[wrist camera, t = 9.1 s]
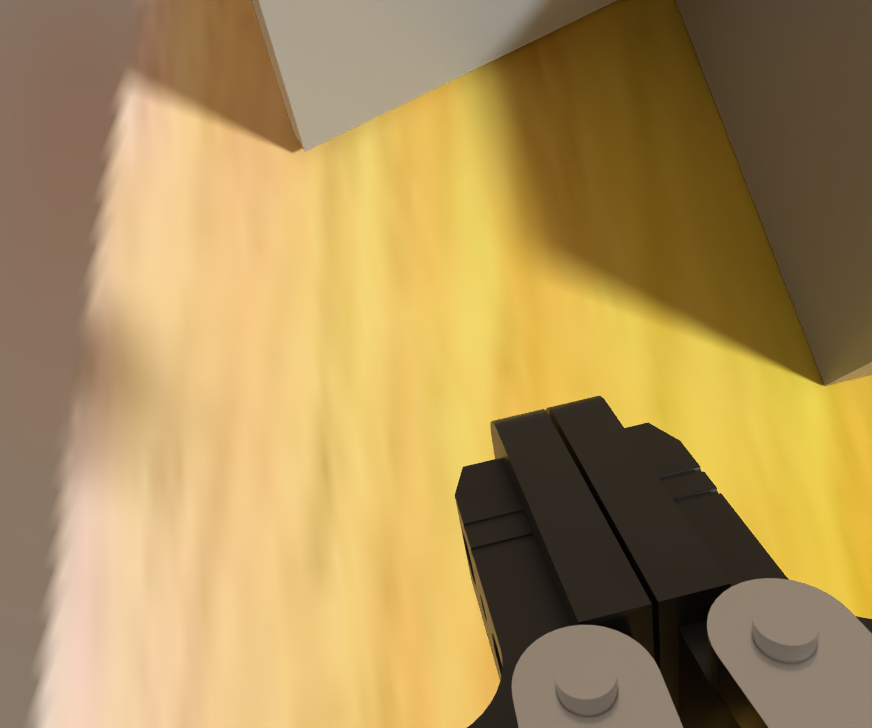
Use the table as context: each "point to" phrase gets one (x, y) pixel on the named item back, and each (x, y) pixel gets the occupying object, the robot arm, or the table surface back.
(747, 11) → the block
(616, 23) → the table surface
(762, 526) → the table surface
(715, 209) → the table surface
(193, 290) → the table surface
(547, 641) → the robot arm
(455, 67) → the door
